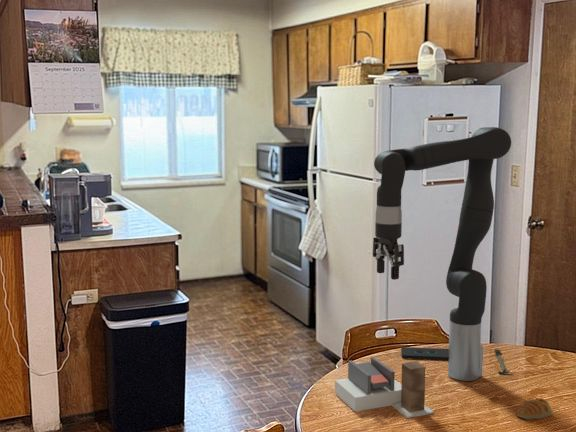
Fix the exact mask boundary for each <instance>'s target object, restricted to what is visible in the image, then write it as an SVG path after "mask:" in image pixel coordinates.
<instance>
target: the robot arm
mask: <svg viewBox="0 0 576 432" xmlns="http://www.w3.org/2000/svg"><path fill="white" fill-rule="evenodd" d="M511 147H512V139H511V136H510V134H509V133H508V131H506V130H505V129H503V128H500V127H497V126H493V127H489V126H488V127H480V128H478V129H477V130H475V132H474V133H473V134H472V135H471V137H466V138H461V139H455V140H454V139H453V140H446V141H445V140H444V141H437V142H430V143H425V144H420V145H416V146H411V147H408V148H397V149H389V150H384V151H382V152H380V153H378V154H377V155H376V157H375V158H374V162H373V166H374V169H375V170H376V172H377V173H378V174H380V175H381V180H380V185H379V186H378V187H377V189H376V208H375V223H374V225H375V228H374V230H375V231H374V232H375V233H374V235H375V237H373V241H372V257H373V258H375V260H376V273H378V274H384V273H385V259H387V260H388V261H389V262H390V265H391V266H390V278H391V280H392V281H394V280H399V278H400V267H401V266H404V265H405V248H404V247H405V246H404V244H403V243H402V244H398V239H400V238H401V237H402V229H403V228H402V227H403V226H402V224H403V223H402V222H403V214H402V213H403V211H402V189H403V185H404V180H405V176H406V172H407V171H414V172H415V171H422V170H427V169H432V168H437V167H440V166H441V167H442V166H446V165H450V164H454V163H459V162H464V161H468V167H467V175H466V180H465V181H466V182H465V187H464V191H463V198H462V201H461V202H462V203H461V208H460V214H459V219H458V222H459V223H458V227H457V231H456V232H457V233H456V238H455V243H454V249H453V251H452V256H451V260H450V262H449V266H448V270H447V273H446V279H445V285H446V288H447V290H448V292H449V293H450V294H451V295H453V296H454V297H458V306H457V308H456V307H455V308H453V309H451V310H450V312H449V331H448V332H449V335H448V349H449V359H448V360H447V361H448V365H447V366H448V367H447V375H448V376H449V377H450V378H452V379H454V380H457V381H463V382H470V381H475V380H478V379H479V378H481V377H483V364H484V363H483V361H484V360H483V359H484V346H483V345H482V344H481V338H482V337H481V336H482V318H483V315H484V313H485V310H486V301H487V299H486V298H487V287H488V286H487V280H486V277H485V275H484V274H483V273H482V272H480V271H479V270H475V269H473V265H474V259H475V255H476V251H477V250H478V248H479V245H480V244H481V243H482V241H483V240H484V238H485V237H486V236H487V234H488V232H490V231H489V230H490V228H491V226H492V225H491V224H492V222H493V215H494V210H495V198H494V191H493V187H492V180H491V179H492V171H493V170H492V169H493V163H494V161H495V160H496V159H501V158H502V157H504V156H505V155H507V153H509V151H510V149H511Z"/></svg>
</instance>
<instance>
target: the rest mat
mask: <svg viewBox="0 0 576 432" xmlns="http://www.w3.org/2000/svg"><path fill="white" fill-rule="evenodd" d="M391 406H392V408H394V409H395V410H396V411H398V412H399V413H400V414H401V415H402V416H404V417H405V418H406V419H410V418H417V417H423V416H427V415H433V414H434V413H435V412H434V410H432V409H431V408H429V407H428V406H427V405H425V404H424V410H420V411H415V412H408V411H407V410H406V409H405V408H403V407H402V406H401V403H398V404H392V405H391Z"/></svg>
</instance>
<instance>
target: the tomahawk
mask: <svg viewBox="0 0 576 432" xmlns="http://www.w3.org/2000/svg"><path fill="white" fill-rule="evenodd" d="M494 352H495V354H494V355H495V357H496V359H497V361H498V364H499V366H500V368H501V370H502V371H498V374H499V375H501V376H502V375H505V376H513V373H511V371H509V370H508V369H507V367H506V365H505V362H504V360H503V357H502V355H501V352H502V351H501V350H500V349H497V348H495V349H494Z"/></svg>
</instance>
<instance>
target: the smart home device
mask: <svg viewBox="0 0 576 432" xmlns="http://www.w3.org/2000/svg"><path fill="white" fill-rule="evenodd" d="M400 348H401V349H400V353H401V359H404V358H412V359H411V360H424V359H426V360H428V361H429V360H430V361H448V359H449V348H436V347H435V348H432V347H410V346H401V347H400Z"/></svg>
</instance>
